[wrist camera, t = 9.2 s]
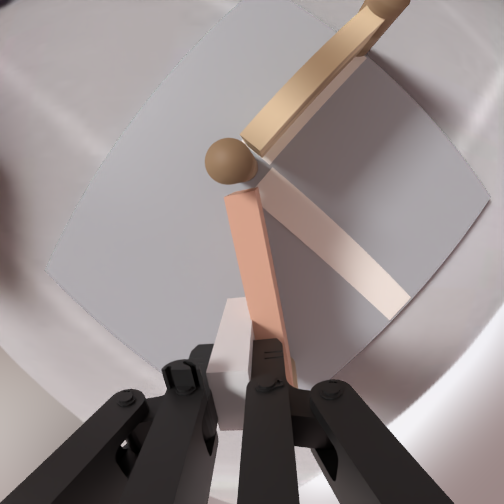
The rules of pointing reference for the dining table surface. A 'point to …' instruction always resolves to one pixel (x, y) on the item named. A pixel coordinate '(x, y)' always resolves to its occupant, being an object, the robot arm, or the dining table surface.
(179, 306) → the board
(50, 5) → the dining table surface
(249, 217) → the fence panel
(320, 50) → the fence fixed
